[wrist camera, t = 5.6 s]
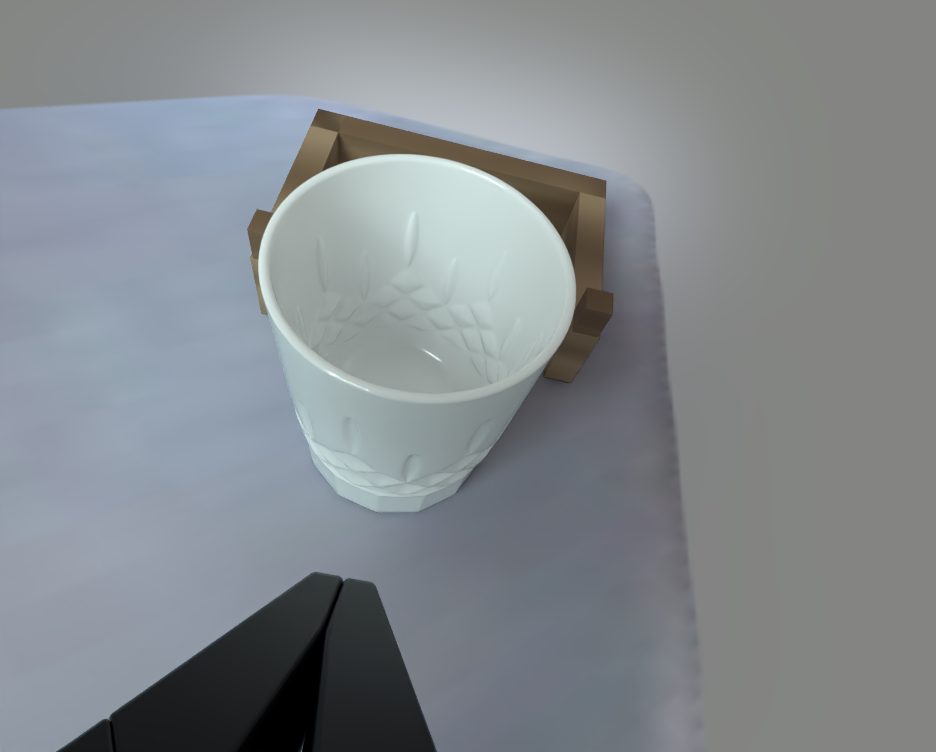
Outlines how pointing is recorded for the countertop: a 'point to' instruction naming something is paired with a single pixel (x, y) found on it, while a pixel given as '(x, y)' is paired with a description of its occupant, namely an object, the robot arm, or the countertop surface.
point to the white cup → (410, 319)
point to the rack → (552, 190)
